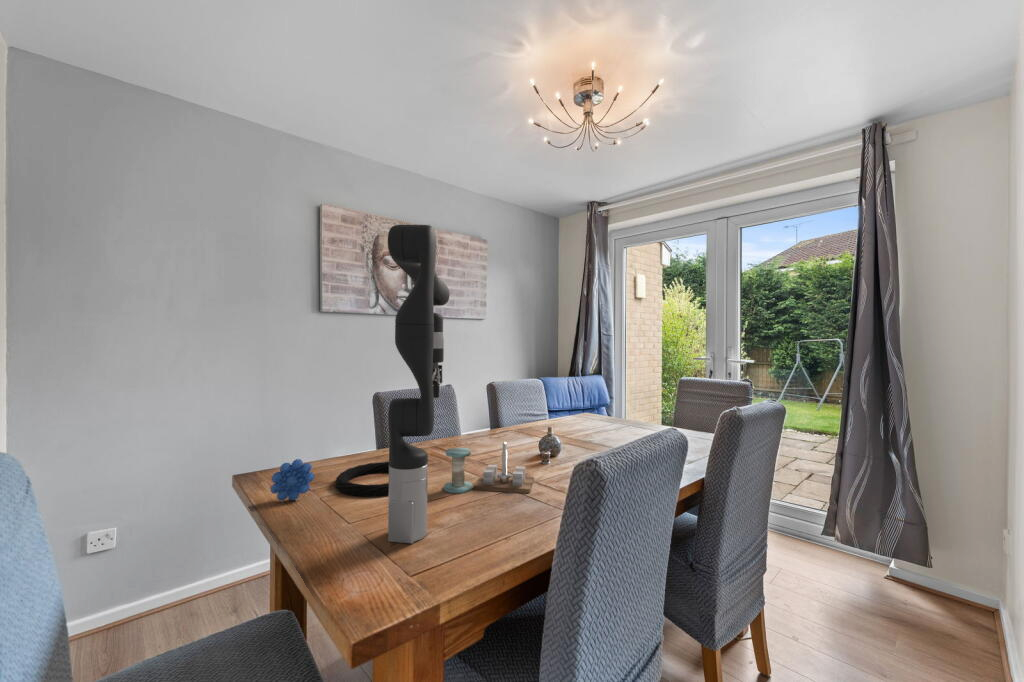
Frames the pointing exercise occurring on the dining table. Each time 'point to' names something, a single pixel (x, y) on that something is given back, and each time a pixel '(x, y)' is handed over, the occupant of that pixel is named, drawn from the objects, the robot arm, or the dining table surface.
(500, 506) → the dining table surface
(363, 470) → the cable lock
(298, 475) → the blue flower
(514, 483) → the notch board
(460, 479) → the bobbin
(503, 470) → the screw
